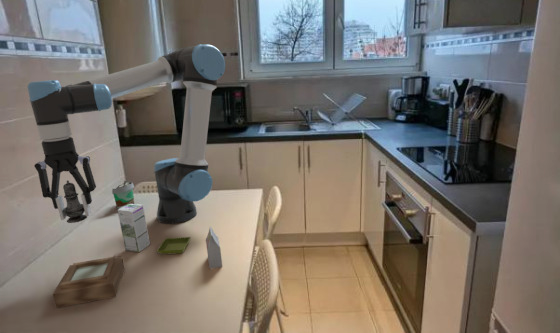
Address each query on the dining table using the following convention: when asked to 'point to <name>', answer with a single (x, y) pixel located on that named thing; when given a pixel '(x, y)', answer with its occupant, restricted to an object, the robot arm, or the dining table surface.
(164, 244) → the olive green shallow tray
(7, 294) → the dining table surface
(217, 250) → the grey upright block
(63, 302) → the display pedestal
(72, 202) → the salt shaker
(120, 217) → the syrup box
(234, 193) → the dining table surface
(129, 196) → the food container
